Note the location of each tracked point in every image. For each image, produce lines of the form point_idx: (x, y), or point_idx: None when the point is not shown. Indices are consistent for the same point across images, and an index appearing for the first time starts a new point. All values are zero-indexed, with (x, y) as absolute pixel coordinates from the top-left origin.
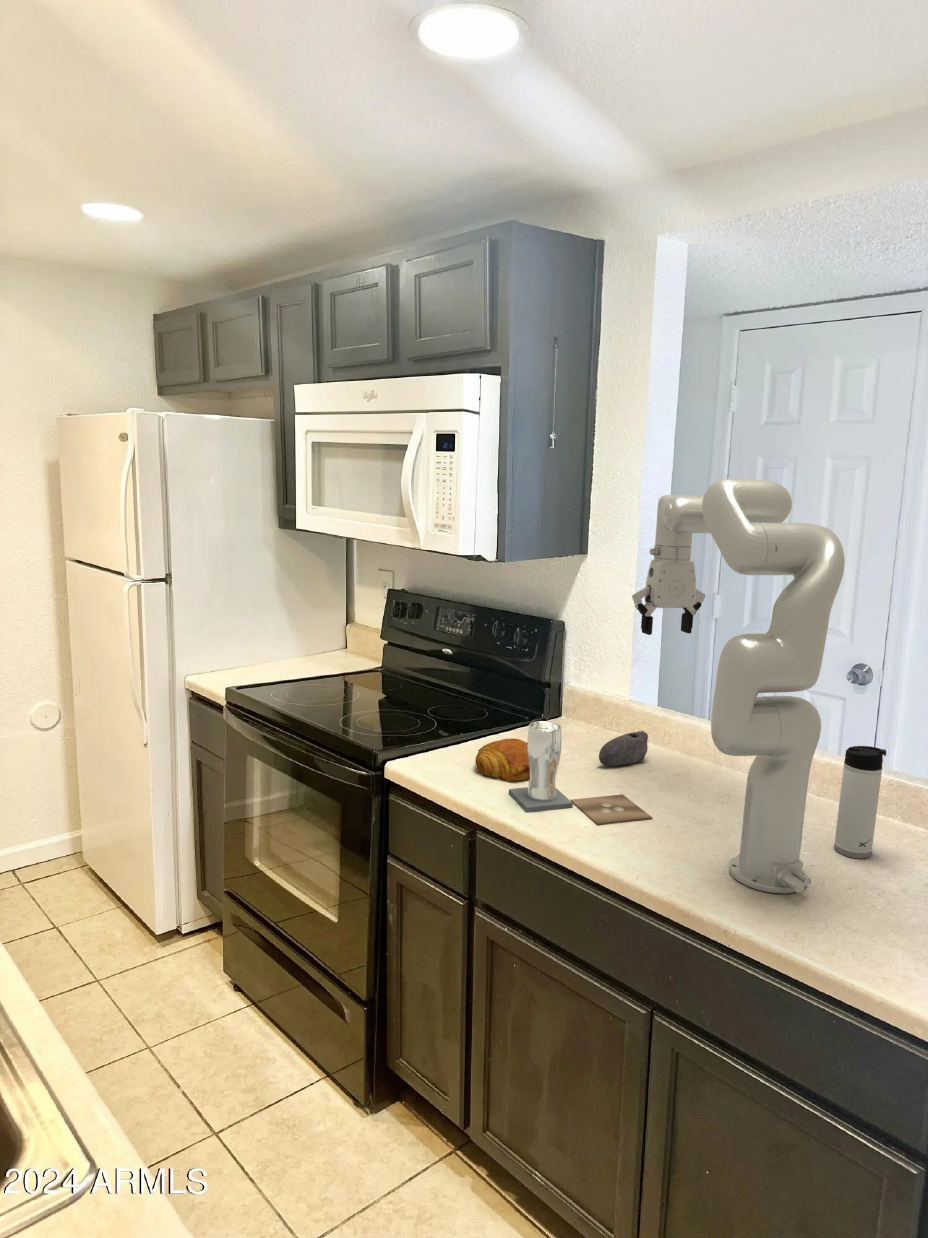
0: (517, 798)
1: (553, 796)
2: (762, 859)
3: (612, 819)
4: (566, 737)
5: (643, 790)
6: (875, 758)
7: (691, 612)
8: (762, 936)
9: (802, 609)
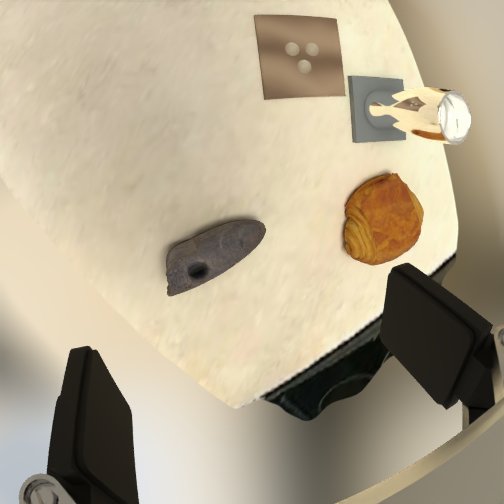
0: None
1: (374, 92)
2: None
3: (314, 22)
4: (258, 344)
5: (219, 119)
6: None
7: (64, 499)
8: None
9: None
